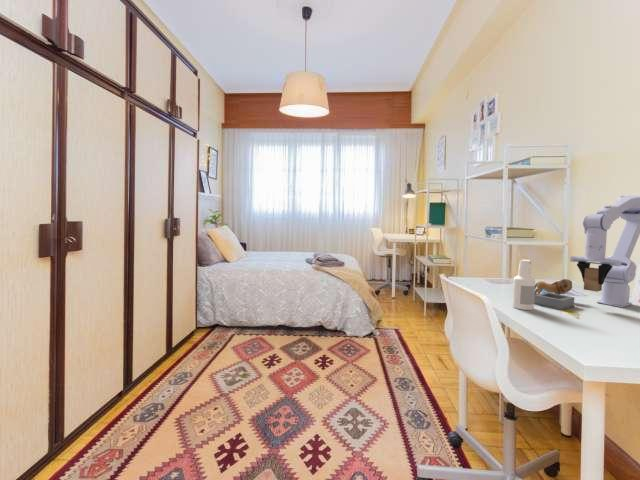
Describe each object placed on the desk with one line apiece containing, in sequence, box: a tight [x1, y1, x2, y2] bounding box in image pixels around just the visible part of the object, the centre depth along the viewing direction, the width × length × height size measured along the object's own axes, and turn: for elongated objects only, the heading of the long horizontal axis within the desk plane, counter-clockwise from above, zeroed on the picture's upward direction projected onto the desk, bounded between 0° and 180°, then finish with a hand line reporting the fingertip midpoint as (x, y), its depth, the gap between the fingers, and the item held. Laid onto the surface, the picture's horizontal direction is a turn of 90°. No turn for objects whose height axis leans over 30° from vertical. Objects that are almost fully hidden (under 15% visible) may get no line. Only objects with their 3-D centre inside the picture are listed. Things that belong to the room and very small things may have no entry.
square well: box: [534, 291, 575, 311], centre depth 123 cm, size 10×10×4 cm
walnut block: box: [583, 267, 602, 293], centre depth 119 cm, size 4×4×8 cm
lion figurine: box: [535, 278, 573, 295], centre depth 133 cm, size 15×5×9 cm, turn 46°
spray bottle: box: [511, 259, 536, 311], centre depth 119 cm, size 7×7×18 cm
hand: (593, 283), depth 119 cm, fingers closed on walnut block, 4 cm apart
